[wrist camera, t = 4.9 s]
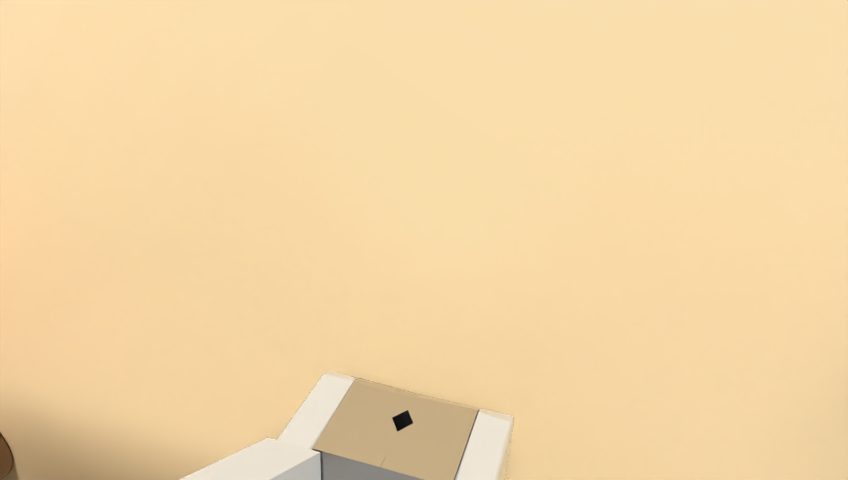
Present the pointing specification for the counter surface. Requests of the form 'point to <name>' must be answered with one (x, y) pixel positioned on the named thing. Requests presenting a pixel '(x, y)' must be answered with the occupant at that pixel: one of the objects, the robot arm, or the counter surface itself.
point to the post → (4, 459)
